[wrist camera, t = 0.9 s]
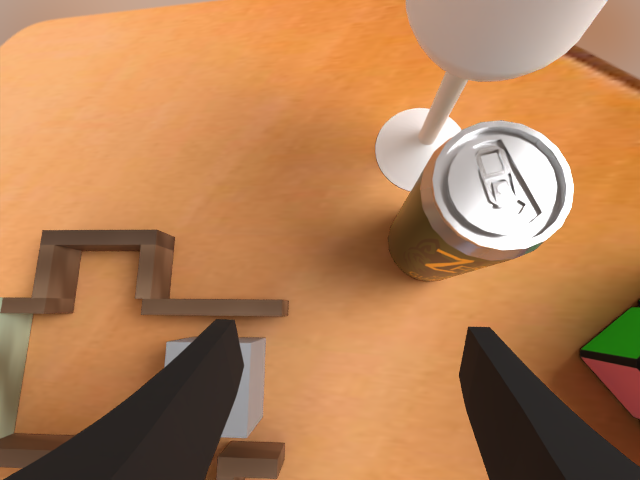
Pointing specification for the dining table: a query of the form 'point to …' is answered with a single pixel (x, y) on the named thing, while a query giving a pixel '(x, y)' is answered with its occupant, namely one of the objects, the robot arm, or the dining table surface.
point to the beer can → (481, 202)
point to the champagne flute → (474, 64)
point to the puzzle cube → (618, 358)
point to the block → (250, 389)
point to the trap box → (154, 288)
